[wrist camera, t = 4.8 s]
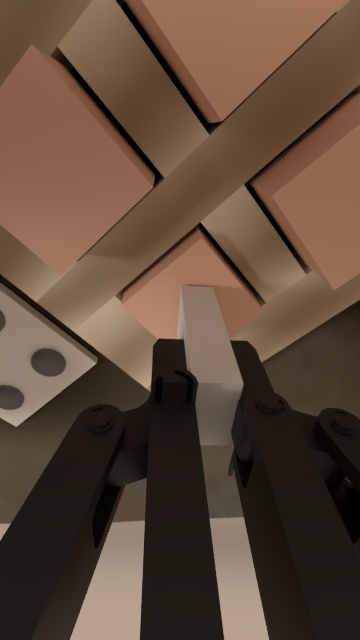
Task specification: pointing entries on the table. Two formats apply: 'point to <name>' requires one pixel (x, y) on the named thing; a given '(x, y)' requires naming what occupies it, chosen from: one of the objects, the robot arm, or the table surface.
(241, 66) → the button
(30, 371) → the card
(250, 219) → the board
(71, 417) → the table surface
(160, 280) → the button
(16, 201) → the button
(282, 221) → the button
